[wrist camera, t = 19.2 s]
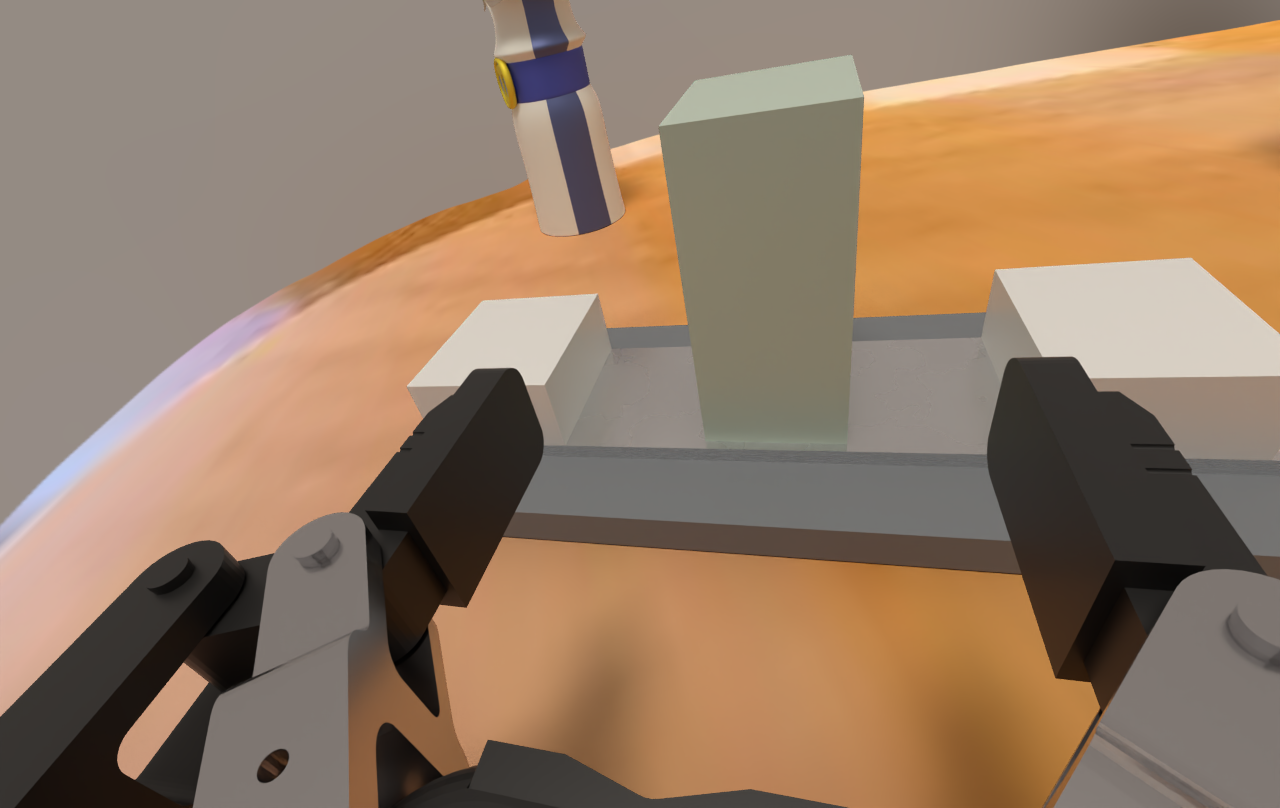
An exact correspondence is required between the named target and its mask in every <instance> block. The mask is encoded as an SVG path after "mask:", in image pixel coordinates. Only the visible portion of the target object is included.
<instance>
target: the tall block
mask: <svg viewBox="0 0 1280 808" xmlns="http://www.w3.org/2000/svg"><path fill="white" fill-rule="evenodd" d="M863 108H864V95H863V92H862V88H861V85H860V81H859V78H858V74H857V71H856V67H855V64H854V60H853V57H852V55H848V56H841V57H835V58H830V59H823V60H817V61H811V62H805V63H800V64H793V65H787V66H781V67H775V68H768V69H763V70H756V71H750V72H744V73H739V74H732V75H726V76H720V77H714V78H708V79H702V80H696V81H694V82H693V84H692V85H691V86H690V88H689V89H688V90H687V91H686V92H685V94H684V95H683V96H682V98H681V99H680V100H679V101H678V103H677V104H676V105H675V106H674V107H673V109H672V110H671V111H670V113H669V114H668V115H667V116H666V118H665V119H664V120H663V121H662V123H661V124H660V125H659V133H660V140H661V147H662V153H663V160H664V167H665V173H666V180H667V187H668V194H669V200H670V207H671V214H672V220H673V227H674V234H675V240H676V247H677V254H678V261H679V267H680V274H681V281H682V287H683V294H684V301H685V307H686V314H687V321H688V328H689V334H690V341H691V348H692V354H693V361H694V368H695V374H696V381H697V388H698V395H699V401H700V408H701V415H702V421H703V428H704V435H705V441H725V442H771V443H817V444H847V438H848V417H849V396H850V376H851V355H852V335H853V314H854V293H855V273H856V252H857V231H858V211H859V190H860V170H861V149H862V128H863Z"/></svg>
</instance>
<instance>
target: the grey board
mask: <svg viewBox="0 0 1280 808" xmlns="http://www.w3.org/2000/svg"><path fill="white" fill-rule="evenodd" d="M985 316H986V313H962V314H938V315H914V316H890V317H866V318H853V335H852V341H882V340H914V339H946V338H979V337H981V336H982V331H983V326H984V321H985ZM607 332H608V337H609V341H610V345H611V349H623V348H656V347H688V346H691V341H690V334H689V328H688V325H675V326H652V327H628V328H607ZM1192 475H1197V477H1198V478H1199V479H1200V481H1201V482H1202V484H1203V485H1204V486H1205V488H1206V489H1207V491H1208V492H1209V493H1210V495H1211V496H1212V498H1213V499H1214V501H1215V502H1216V503H1217V505H1218V506H1219V508H1220V509H1221V510H1222V512H1223V513H1224V515H1225V516H1226V518H1227V519H1228V520H1229V522H1230V523H1231V525H1232V526H1233V527H1234V529H1235V530H1236V532H1237V533H1238V535H1239V536H1240V537H1241V539H1242V540H1243V542H1244V543H1245V544H1246V546H1247V547H1248V549H1249V550H1250V552H1251V553H1252V554H1253V556H1254V557H1255V559H1256V560H1257V561H1258V563H1259V564H1260V566H1261V567H1262V569H1263V570H1264V571H1265V573H1266V574H1267V575H1268V576H1269V577H1272V578H1276V579H1278V580H1280V476H1271V475H1234V474H1196V473H1192ZM503 536H504V537H518V538H532V539H545V540H559V541H573V542H587V543H601V544H614V545H628V546H642V547H656V548H670V549H683V550H697V551H711V552H725V553H739V554H752V555H766V556H780V557H794V558H808V559H821V560H835V561H849V562H863V563H876V564H890V565H904V566H918V567H932V568H945V569H959V570H973V571H987V572H1001V573H1014V574H1021V571H1020V568H1019V565H1018V562H1017V559H1016V556H1015V552H1014V549H1013V546H1012V543H1011V540H1010V537H1009V534H1008V531H1007V528H1006V525H1005V522H1004V519H1003V516H1002V513H1001V510H1000V507H999V503H998V500H997V497H996V494H995V491H994V488H993V485H992V482H991V479H990V475H989V471H988V468H972V467H935V466H897V465H860V464H822V463H785V462H748V461H710V460H673V459H635V458H598V457H561V456H542V459H541V462H540V464H539V466H538V468H537V470H536V472H535V474H534V476H533V478H532V480H531V482H530V484H529V486H528V488H527V490H526V492H525V493H524V495H523V497H522V499H521V501H520V503H519V505H518V507H517V509H516V511H515V513H514V515H513V517H512V519H511V521H510V523H509V525H508V527H507V529H506V531H505V533H504V535H503Z"/></svg>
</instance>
